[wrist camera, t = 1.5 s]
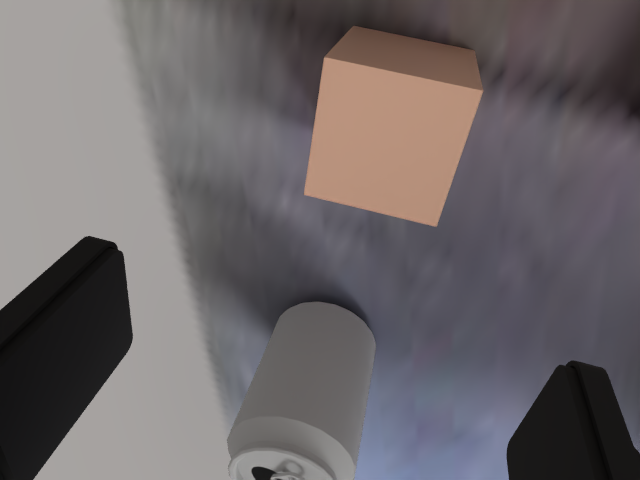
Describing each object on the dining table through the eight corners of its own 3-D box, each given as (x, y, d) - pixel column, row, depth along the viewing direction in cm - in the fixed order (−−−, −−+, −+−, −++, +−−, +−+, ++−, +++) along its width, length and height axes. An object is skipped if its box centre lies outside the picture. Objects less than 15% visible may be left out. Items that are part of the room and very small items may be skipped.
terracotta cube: (474, 50, 23) (483, 90, 18) (438, 162, 27) (436, 226, 21) (353, 25, 24) (323, 56, 18) (333, 138, 27) (303, 194, 22)
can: (258, 320, 36) (188, 466, 27) (330, 276, 33) (280, 428, 23) (324, 381, 38) (282, 537, 29) (399, 346, 35) (380, 512, 25)
